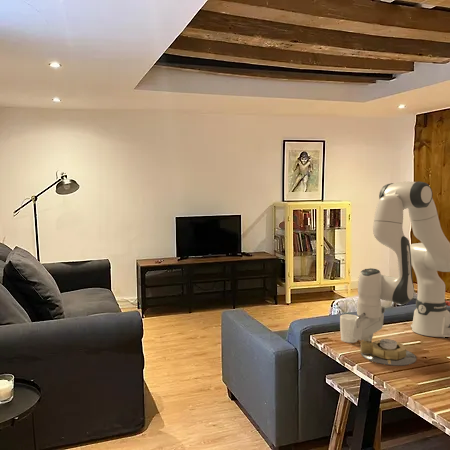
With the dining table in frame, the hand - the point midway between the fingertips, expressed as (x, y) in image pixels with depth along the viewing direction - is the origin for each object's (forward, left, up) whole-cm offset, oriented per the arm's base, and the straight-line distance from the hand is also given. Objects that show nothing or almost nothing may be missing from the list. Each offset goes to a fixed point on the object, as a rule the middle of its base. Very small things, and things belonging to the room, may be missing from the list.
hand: (367, 345), depth 181 cm
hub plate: (-3, +8, -2) cm, 8 cm away
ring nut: (-1, +6, -1) cm, 7 cm away
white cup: (-3, -12, -2) cm, 13 cm away
